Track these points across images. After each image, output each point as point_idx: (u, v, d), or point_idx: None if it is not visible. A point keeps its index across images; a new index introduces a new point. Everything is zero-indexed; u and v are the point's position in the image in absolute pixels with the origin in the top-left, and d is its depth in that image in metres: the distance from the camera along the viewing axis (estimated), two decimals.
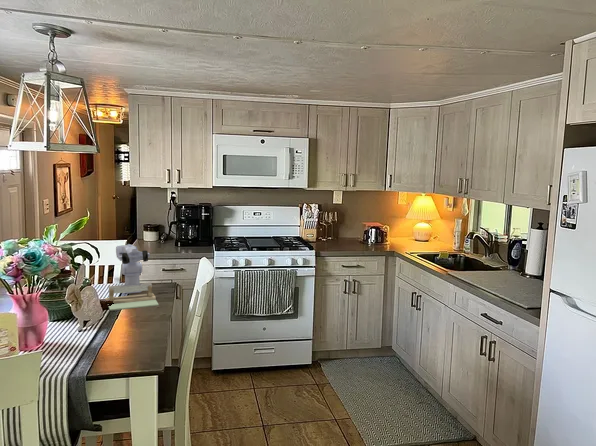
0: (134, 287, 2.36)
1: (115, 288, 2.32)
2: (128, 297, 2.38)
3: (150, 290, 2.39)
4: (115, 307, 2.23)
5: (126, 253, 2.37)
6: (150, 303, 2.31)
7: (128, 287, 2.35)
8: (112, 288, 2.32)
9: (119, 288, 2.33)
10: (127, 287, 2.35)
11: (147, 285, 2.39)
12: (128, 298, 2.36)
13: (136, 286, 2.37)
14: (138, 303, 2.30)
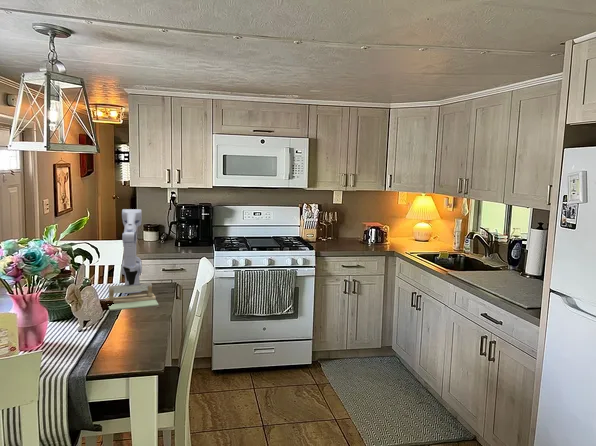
0: (134, 287, 2.36)
1: (115, 288, 2.32)
2: (128, 297, 2.38)
3: (150, 290, 2.39)
4: (115, 307, 2.23)
5: (123, 269, 2.38)
6: (150, 303, 2.31)
7: (128, 287, 2.35)
8: (112, 288, 2.32)
9: (119, 288, 2.33)
10: (127, 287, 2.35)
11: (147, 285, 2.39)
12: (128, 298, 2.36)
13: (136, 286, 2.37)
14: (138, 303, 2.30)
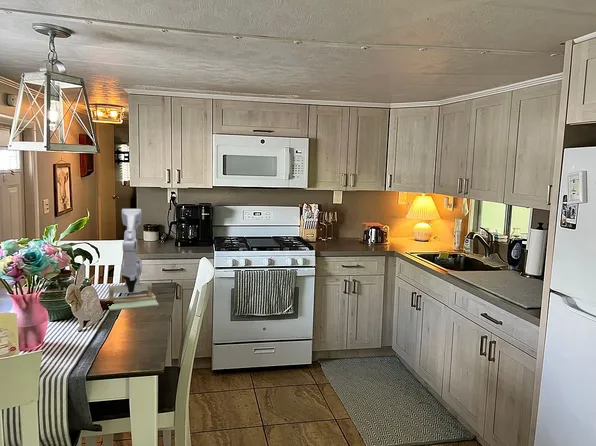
0: (134, 287, 2.36)
1: (115, 288, 2.32)
2: (128, 297, 2.38)
3: (150, 290, 2.39)
4: (115, 307, 2.23)
5: (124, 278, 2.37)
6: (150, 303, 2.31)
7: None
8: (112, 288, 2.32)
9: (119, 288, 2.33)
10: (127, 287, 2.35)
11: (147, 285, 2.39)
12: (128, 298, 2.36)
13: (136, 286, 2.37)
14: (138, 303, 2.30)
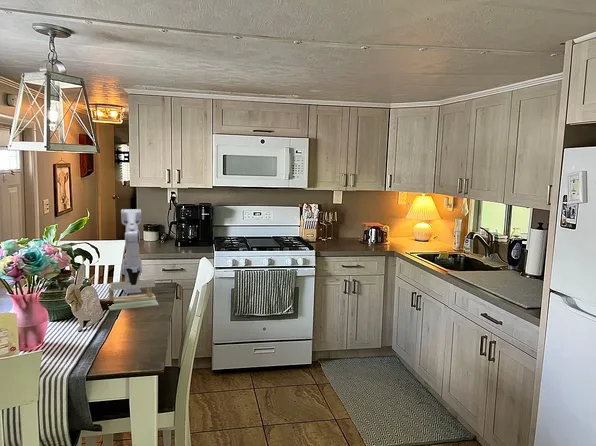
0: (137, 283, 2.28)
1: (117, 284, 2.24)
2: (128, 297, 2.38)
3: (150, 290, 2.39)
4: (115, 307, 2.23)
5: (126, 270, 2.28)
6: (150, 303, 2.31)
7: None
8: (114, 284, 2.23)
9: (121, 284, 2.24)
10: (129, 283, 2.26)
11: (150, 281, 2.30)
12: (128, 298, 2.36)
13: (139, 282, 2.28)
14: (138, 303, 2.30)
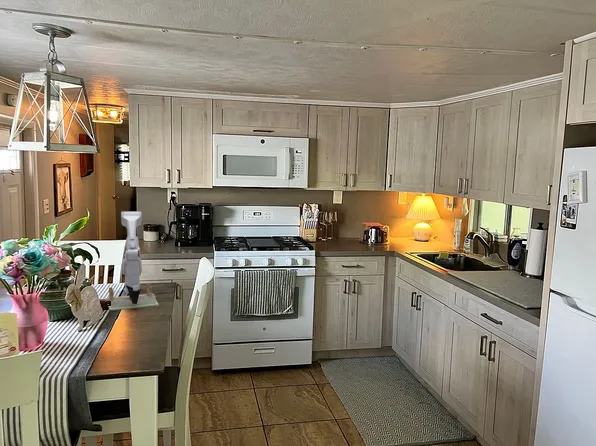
0: None
1: (118, 301, 2.24)
2: (128, 297, 2.38)
3: (150, 290, 2.39)
4: (115, 307, 2.23)
5: (126, 287, 2.30)
6: None
7: (131, 300, 2.27)
8: (114, 302, 2.23)
9: (122, 301, 2.25)
10: (130, 300, 2.27)
11: (151, 298, 2.31)
12: None
13: (139, 299, 2.28)
14: None
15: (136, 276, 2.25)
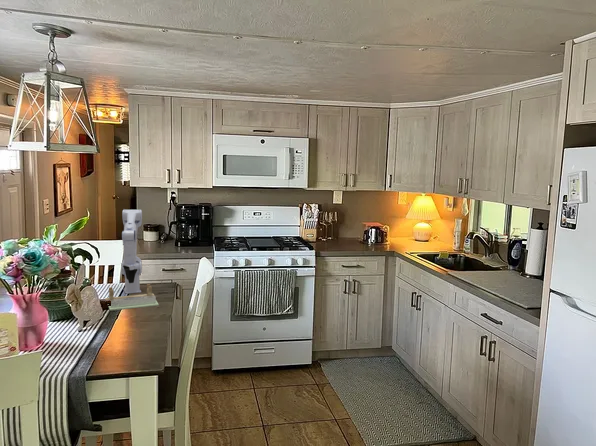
0: (137, 300, 2.28)
1: (118, 301, 2.24)
2: (128, 297, 2.38)
3: (150, 290, 2.39)
4: (115, 307, 2.23)
5: (123, 267, 2.39)
6: None
7: (131, 300, 2.27)
8: (114, 302, 2.23)
9: (122, 301, 2.25)
10: (130, 300, 2.27)
11: (151, 298, 2.31)
12: None
13: (139, 299, 2.28)
14: None
15: (132, 256, 2.34)
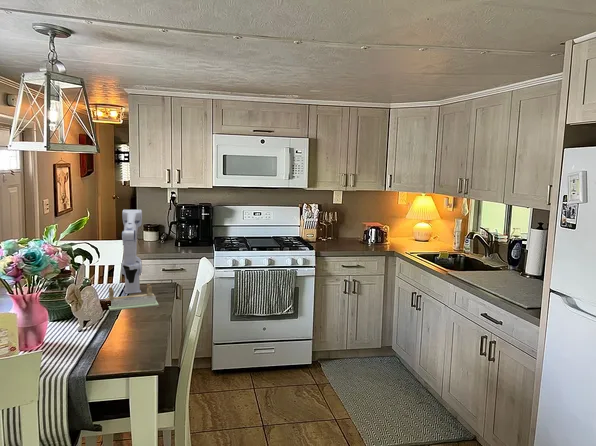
0: (137, 300, 2.28)
1: (118, 301, 2.24)
2: (128, 297, 2.38)
3: (150, 290, 2.39)
4: (115, 307, 2.23)
5: (123, 267, 2.39)
6: None
7: (131, 300, 2.27)
8: (114, 302, 2.23)
9: (122, 301, 2.25)
10: (130, 300, 2.27)
11: (151, 298, 2.31)
12: None
13: (139, 299, 2.28)
14: None
15: (132, 256, 2.34)
